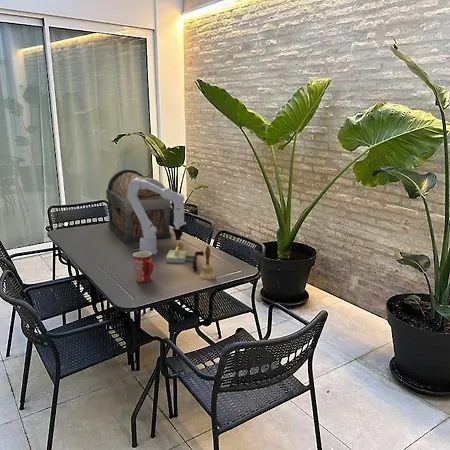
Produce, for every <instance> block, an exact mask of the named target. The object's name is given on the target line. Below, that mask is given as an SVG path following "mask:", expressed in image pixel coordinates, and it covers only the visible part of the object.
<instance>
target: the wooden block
mask: <svg viewBox="0 0 450 450" xmlns="http://www.w3.org/2000/svg"><path fill="white" fill-rule="evenodd" d="M176 247H179V250H181V251H184V241H176V245H175V248H176Z"/></svg>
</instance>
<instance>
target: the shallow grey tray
mask: <svg viewBox="0 0 450 450" xmlns="http://www.w3.org/2000/svg"><path fill="white" fill-rule="evenodd" d="M187 256H188V252H187V253H186V256H185V259H166V258H165V262H166V263H167V264H168V263H169V264H171V263H172V264H185V263H186V259H187Z"/></svg>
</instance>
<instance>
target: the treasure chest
mask: <svg viewBox="0 0 450 450" xmlns="http://www.w3.org/2000/svg"><path fill="white" fill-rule="evenodd" d="M135 178H141V179H144V180H146V181H148V182H150V183H152V184H154V185H156V186H158V187H160V188H162V189H164V188H166V187H165V185H164V184H163V183H162V182H160V181H159V180H157V179H155V178H149V177H145V176H144V175H143V174H142V173H139V172H138V171H137V170H133V169H124V170H120V171H118V172H116V173H115V174H113V176H112V177H110V179H109V181H108V184H107V189H106V190H105V193H106V200H107V204H108V205H107V207H108V222H107V224H108V225H107V227H108V228H109V230H111V231H112V232H113V233H114V234H115V235H116V236H117V237H118V238H119V239H120V240H121V241H122V242H123V243H124V244H126V245H127V244H128V245H131V244H138V243H139V244H140V238H143V237H144V236H143V231H142V226H141V223H140V221H139V219H138V217H137V215H136V213H135V211H134V209H133V207H132V205H131V203H130V201H129V199H128V196H127V195H128V185H129V183H130V181H132V180H134V179H135ZM137 196H138V198H139V200H140V202H141V204H142V206H143V208H144V211H145V213H146V215H147V217H148V219H149V220H150V221H151V222H152V224H153V225H154V226H155V227H156V229H157V232H156V233H155V235H156V241H161V240H167V239H168V240H169V239H172V233H171V231H170V224H171V223H170V222H171V221H170V220H171V219H170V214H171V213H170V209H171V205H172V204H171V201H169V200H167V199H164V198H162V197H161V195H160V194H159V193H156V192H154V191H151V190H149V189H143V190H141V189H140V190H139V193H138V195H137Z"/></svg>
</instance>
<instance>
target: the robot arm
mask: <svg viewBox="0 0 450 450" xmlns="http://www.w3.org/2000/svg"><path fill="white" fill-rule="evenodd" d="M140 189H141V190H143V189H149V190H151V191H154V192H156V193H159V194H160V195H161V197H162V198H164V199H167V200H169V201H170V203H171V202H172V203H173V225H174V227H172V231H173V232H174V236H175V240H176V241H181V239H182V236H183V232H184V228H185V225H186V224H187V222H185V205H184V201H185V196H184V195H183V194H182V193H179V192H177V191H176V192H175V191H173V190H171V188H170V187H168V188H167V187H165V188H164V189H162V188H160V187H158V186H156V185H154V184H152V183H150V182H148V181H146V180H144V179H141V178H135V179H134V180H132V181H130V183H129V185H128V195H127V196H128V199H129V201H130V203H131V205H132V207H133V209H134V211H135V213H136V215H137V217H138V219H139V221H140V223H141V226H142V231H143V236H144V237H143V238H140V242H139V251H148V252H151V253H152V255H157V254H158V252H159V249H157V240H156V235H155V233H156V232H157V229H156V227H155V226H154V225H153V224H152V222H151V221H150V220H149V219H148V217H147V215H146V213H145V211H144V208H143V206H142V204H141V202H140V200H139V198H138V196H137V195H138V193H139V190H140Z"/></svg>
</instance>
